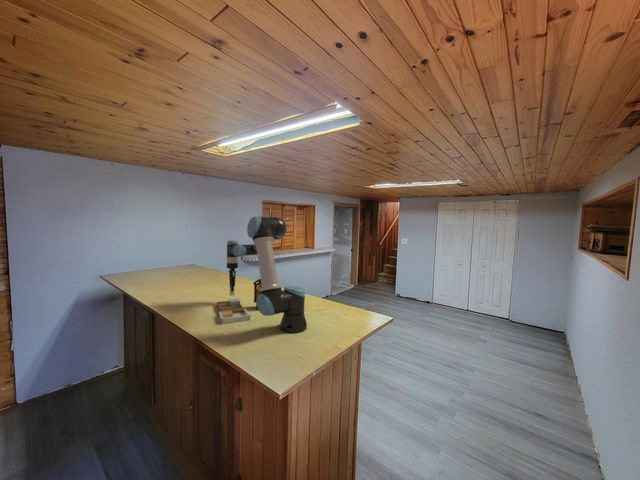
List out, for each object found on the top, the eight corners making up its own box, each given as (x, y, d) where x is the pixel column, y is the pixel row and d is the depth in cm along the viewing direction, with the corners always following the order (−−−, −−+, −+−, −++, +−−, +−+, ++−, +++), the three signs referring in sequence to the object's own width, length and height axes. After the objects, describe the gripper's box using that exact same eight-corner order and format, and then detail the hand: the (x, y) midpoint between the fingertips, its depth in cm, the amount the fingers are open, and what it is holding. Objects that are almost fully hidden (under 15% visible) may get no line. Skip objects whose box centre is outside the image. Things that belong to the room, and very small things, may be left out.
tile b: (240, 304, 180) (240, 301, 180) (230, 306, 177) (230, 302, 177) (238, 302, 185) (238, 298, 185) (229, 303, 182) (229, 299, 182)
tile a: (233, 318, 162) (233, 314, 161) (222, 319, 159) (222, 315, 159) (231, 314, 167) (231, 310, 167) (221, 316, 164) (221, 312, 164)
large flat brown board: (243, 313, 171) (243, 309, 171) (220, 316, 165) (220, 312, 165) (237, 303, 191) (237, 299, 191) (216, 305, 184) (216, 302, 184)
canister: (268, 310, 178) (268, 281, 177) (251, 309, 178) (251, 280, 177) (270, 306, 187) (271, 278, 185) (255, 305, 187) (255, 277, 186)
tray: (250, 320, 160) (250, 315, 160) (221, 324, 153) (221, 319, 153) (245, 313, 172) (245, 308, 172) (218, 316, 164) (219, 311, 164)
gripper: (239, 263, 184) (239, 297, 186) (236, 260, 195) (235, 292, 197) (228, 264, 180) (227, 298, 182) (225, 261, 192) (225, 293, 194)
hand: (232, 295), depth 190 cm, fingers closed
